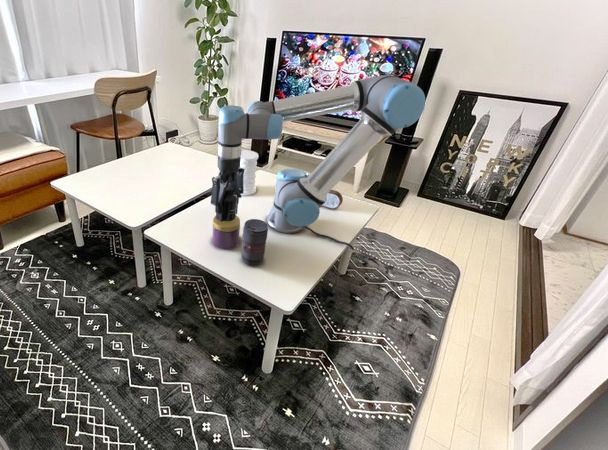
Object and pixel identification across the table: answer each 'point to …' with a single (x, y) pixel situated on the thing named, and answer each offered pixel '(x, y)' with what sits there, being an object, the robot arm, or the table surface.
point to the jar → (226, 238)
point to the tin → (333, 200)
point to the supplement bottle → (229, 204)
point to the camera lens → (254, 241)
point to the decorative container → (249, 171)
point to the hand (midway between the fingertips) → (226, 216)
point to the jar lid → (226, 224)
